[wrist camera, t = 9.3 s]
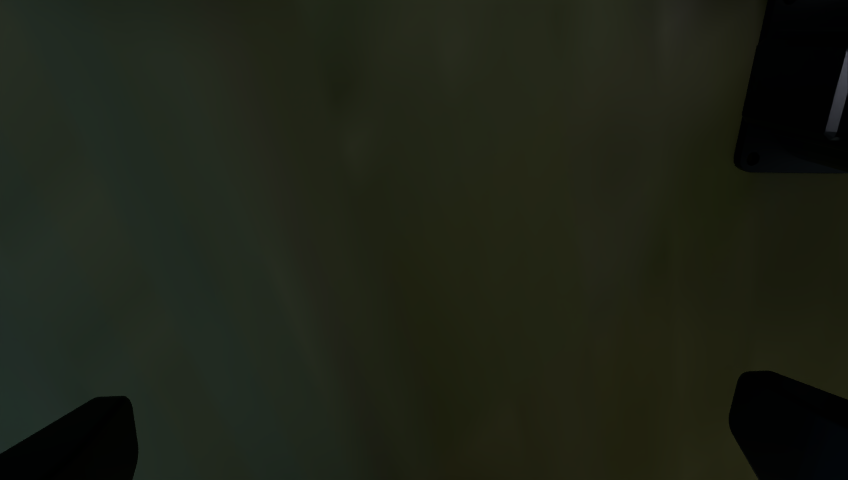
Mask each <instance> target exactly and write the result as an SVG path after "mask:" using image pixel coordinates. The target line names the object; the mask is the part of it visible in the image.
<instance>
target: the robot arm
mask: <svg viewBox="0 0 848 480" xmlns="http://www.w3.org/2000/svg"><path fill="white" fill-rule="evenodd" d="M742 116H743V117H742V121H741V126H740V130H739V135H738V140H737V144H736V149H735V153H734V164H735V166H736V167H737V168H738V169H741V170H744V171H747V172H775V173H848V0H788V1H787V2H786V3H784V1H783V0H768V2H767V7H766V11H765V16H764V20H763V25H762V30H761V34H760V39H759V43H758V46H757V48H756V52H755V57H754V61H753V66H752V71H751V75H750V80H749V84H748V89H747V94H746V98H745V103H744V107H743V112H742ZM750 153H752V155H753V157H752V159H751V161H749V162H748V163H747V157H748V155H749V154H750ZM729 426H730V429H731V432H732V434H733V436H734V438H735V439H736V441H737V443H738V445H739V446H740V448H741V450H742V452H743V453H744V455H745V457H746V459H747V460H748V462H749V464H750V466H751V467H752V469H753V471H754V473H755V474H756V476H757V478H758V480H848V400H847V399H844V398H842V397H839V396H836V395H834V394H831V393H828V392H826V391H823V390H820V389H818V388H815V387H812V386H810V385H807V384H804V383H802V382H799V381H796V380H794V379H791V378H788V377H786V376H783V375H780V374H778V373H775V372H772V371H748V372H745V373H743V374H742V375H741V376H740V377H739V379H738V381H737V385H736V389H735V393H734V397H733V401H732V405H731V409H730V413H729ZM137 460H138V441H137V435H136V428H135V421H134V415H133V408H132V404H131V402H130V400H129V399H128V398H127V397H126V396H109V397H96V398H93V399H92V400H90V401H88V402H87V403H85V404H83V405H81V406H80V407H78V408H76V409H75V410H73V411H71V412H70V413H68V414H66V415H65V416H63V417H61V418H60V419H58V420H56V421H55V422H53V423H51V424H50V425H48V426H46V427H45V428H43V429H41V430H40V431H38V432H36V433H35V434H33V435H31V436H30V437H28V438H26V439H25V440H23V441H21V442H20V443H18V444H16V445H14V446H13V447H11V448H9V449H8V450H6V451H4V452H3V453H1V454H0V480H132V479H133V476H134V472H135V469H136V465H137Z"/></svg>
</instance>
